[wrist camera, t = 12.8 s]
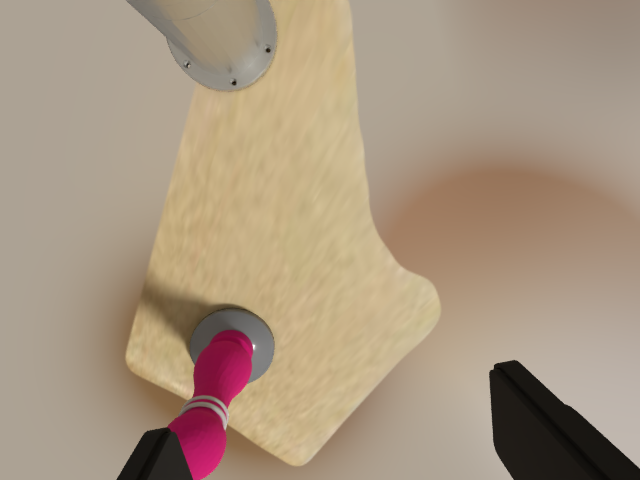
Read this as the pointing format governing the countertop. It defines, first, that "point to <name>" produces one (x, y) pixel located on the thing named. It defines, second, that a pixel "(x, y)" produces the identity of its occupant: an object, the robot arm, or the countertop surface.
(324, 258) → the countertop surface
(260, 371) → the grey flat disc
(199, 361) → the pepper mill
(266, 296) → the countertop surface
